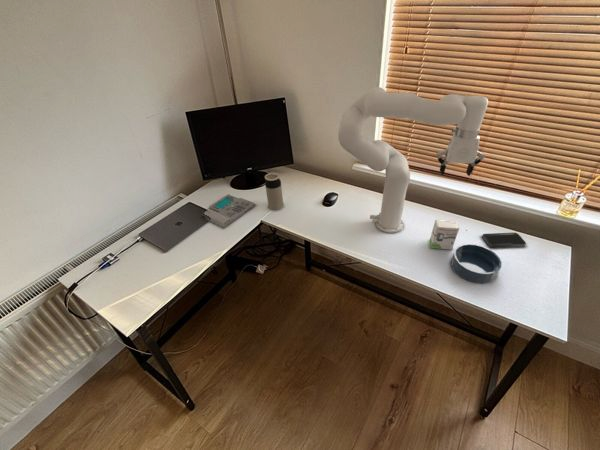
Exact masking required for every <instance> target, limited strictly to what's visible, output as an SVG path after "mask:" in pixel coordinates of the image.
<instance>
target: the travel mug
mask: <svg viewBox="0 0 600 450" xmlns="http://www.w3.org/2000/svg"><path fill="white" fill-rule="evenodd" d="M280 177H281V176H280V174H279V173H277V172H269V173H267V174H265V175H264V179H265V182H264V186H265V193H266V198H267V206H268V208H269V209H270V210H273V211H278V210H280V209H282V208H283V207H284V198H283V188H282V181H281V178H280Z"/></svg>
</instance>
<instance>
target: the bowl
mask: <svg viewBox="0 0 600 450" xmlns="http://www.w3.org/2000/svg"><path fill="white" fill-rule="evenodd" d="M450 265H451V269H452V270H453V271H454V273H455V274H457V275H458V276H459V277H460V278H461V279H464V280H466V281H467V282H468V281H469V282H472V283H475V284H487V283H491V282H493V281H494V280H495V279H496V278H497V276H498V274H499V272H500V270H501V268H502V260H501V258H500V257H499V255H498V254H497V253H496V252H494V251H493V250H491V249H490V248H488V247H486V246H483V245H481V244H476V243H464V244H461V245H459V246H457V247H456V248H455V249H454V251H453V254H452V256H451V259H450Z"/></svg>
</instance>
